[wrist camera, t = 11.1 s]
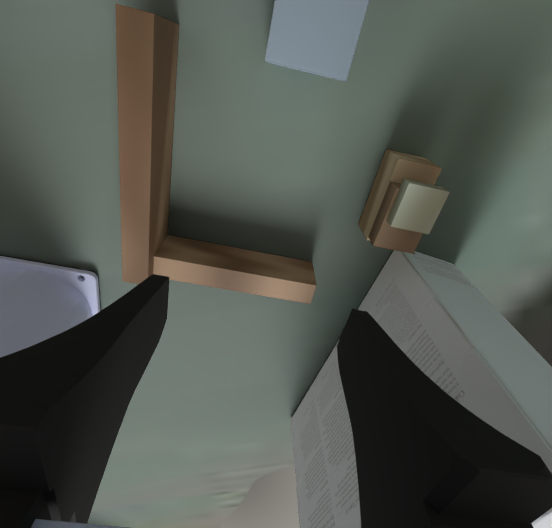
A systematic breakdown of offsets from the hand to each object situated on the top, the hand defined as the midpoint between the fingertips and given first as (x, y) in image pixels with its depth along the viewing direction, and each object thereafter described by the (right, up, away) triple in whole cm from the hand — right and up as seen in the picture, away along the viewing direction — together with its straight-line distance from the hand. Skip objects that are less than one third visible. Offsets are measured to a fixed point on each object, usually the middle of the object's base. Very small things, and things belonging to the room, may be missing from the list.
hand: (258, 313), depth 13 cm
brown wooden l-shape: (-1, +8, +8) cm, 11 cm away
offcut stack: (+8, +6, +8) cm, 13 cm away
